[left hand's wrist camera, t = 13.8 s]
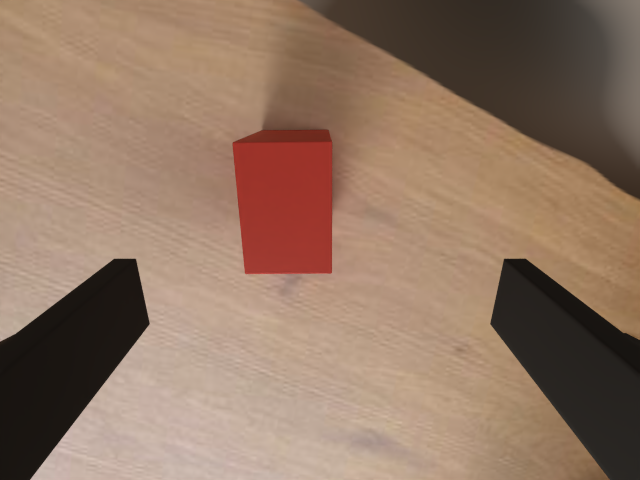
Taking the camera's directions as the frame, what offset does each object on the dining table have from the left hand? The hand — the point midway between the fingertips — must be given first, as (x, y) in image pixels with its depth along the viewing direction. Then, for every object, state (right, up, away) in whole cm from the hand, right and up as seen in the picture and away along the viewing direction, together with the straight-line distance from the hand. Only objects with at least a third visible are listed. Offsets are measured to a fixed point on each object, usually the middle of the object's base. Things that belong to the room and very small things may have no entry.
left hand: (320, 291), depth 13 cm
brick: (-2, +7, +17) cm, 19 cm away
